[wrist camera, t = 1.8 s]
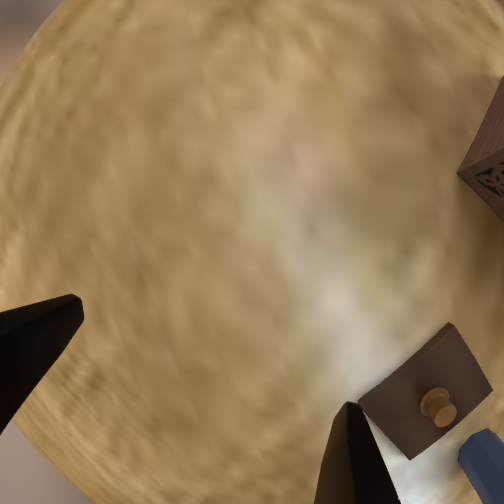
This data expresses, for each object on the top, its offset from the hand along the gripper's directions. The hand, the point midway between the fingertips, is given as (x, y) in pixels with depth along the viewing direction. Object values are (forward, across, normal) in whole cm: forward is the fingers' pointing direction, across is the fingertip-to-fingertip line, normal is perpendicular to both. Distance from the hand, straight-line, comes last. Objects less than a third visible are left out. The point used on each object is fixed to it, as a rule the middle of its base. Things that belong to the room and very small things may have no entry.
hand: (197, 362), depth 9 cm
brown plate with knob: (+12, -17, +10) cm, 23 cm away
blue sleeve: (+10, -27, +15) cm, 32 cm away
